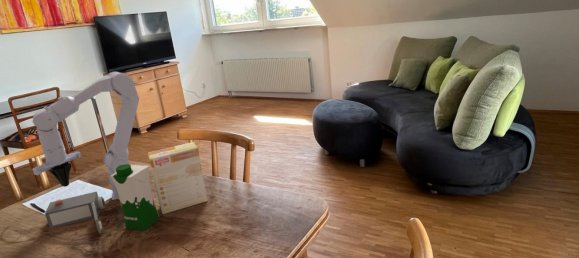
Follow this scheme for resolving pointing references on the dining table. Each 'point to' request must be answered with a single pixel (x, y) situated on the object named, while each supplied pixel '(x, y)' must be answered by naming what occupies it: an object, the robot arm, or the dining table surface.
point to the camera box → (73, 209)
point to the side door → (96, 217)
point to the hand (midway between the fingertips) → (65, 185)
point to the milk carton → (135, 196)
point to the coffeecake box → (178, 177)
